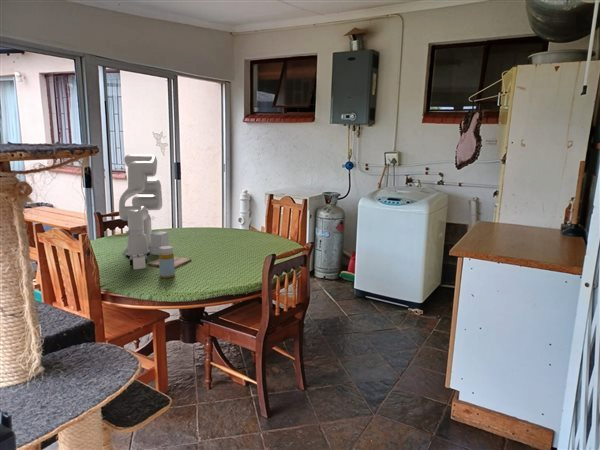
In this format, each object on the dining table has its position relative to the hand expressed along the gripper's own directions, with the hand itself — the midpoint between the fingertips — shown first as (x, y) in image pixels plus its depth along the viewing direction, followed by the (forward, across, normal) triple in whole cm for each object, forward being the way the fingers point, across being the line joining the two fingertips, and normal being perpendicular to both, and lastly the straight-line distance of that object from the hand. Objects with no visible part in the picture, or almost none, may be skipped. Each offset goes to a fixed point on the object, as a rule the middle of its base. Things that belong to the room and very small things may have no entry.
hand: (138, 265), depth 221 cm
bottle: (+1, +10, -22) cm, 24 cm away
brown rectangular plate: (+1, +16, -1) cm, 16 cm away
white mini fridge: (+1, 0, 0) cm, 1 cm away
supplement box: (+1, +15, +21) cm, 26 cm away
